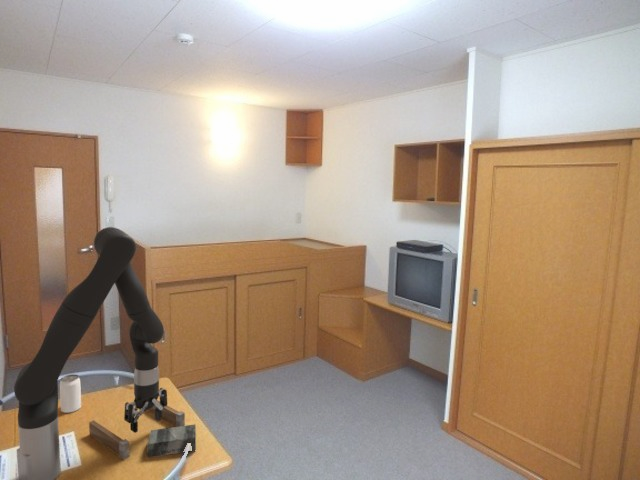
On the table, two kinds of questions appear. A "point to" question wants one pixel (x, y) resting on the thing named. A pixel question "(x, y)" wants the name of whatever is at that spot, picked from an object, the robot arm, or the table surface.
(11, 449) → the table surface
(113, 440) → the pair of wooden rails
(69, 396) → the can
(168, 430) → the stone block
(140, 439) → the table surface
